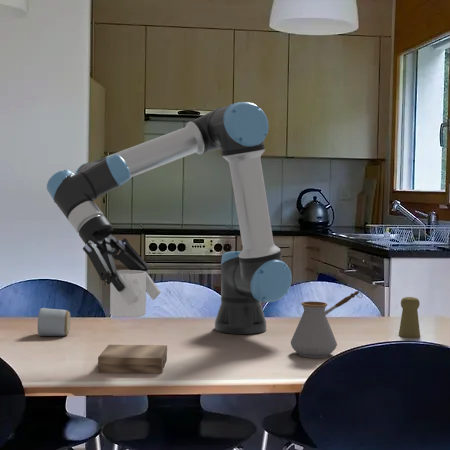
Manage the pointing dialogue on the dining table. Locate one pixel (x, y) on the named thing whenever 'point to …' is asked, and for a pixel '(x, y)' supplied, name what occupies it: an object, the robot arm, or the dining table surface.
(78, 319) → the dining table surface
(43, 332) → the ceramic mug
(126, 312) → the mug
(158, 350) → the dock
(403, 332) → the cork
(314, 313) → the coffee pot
